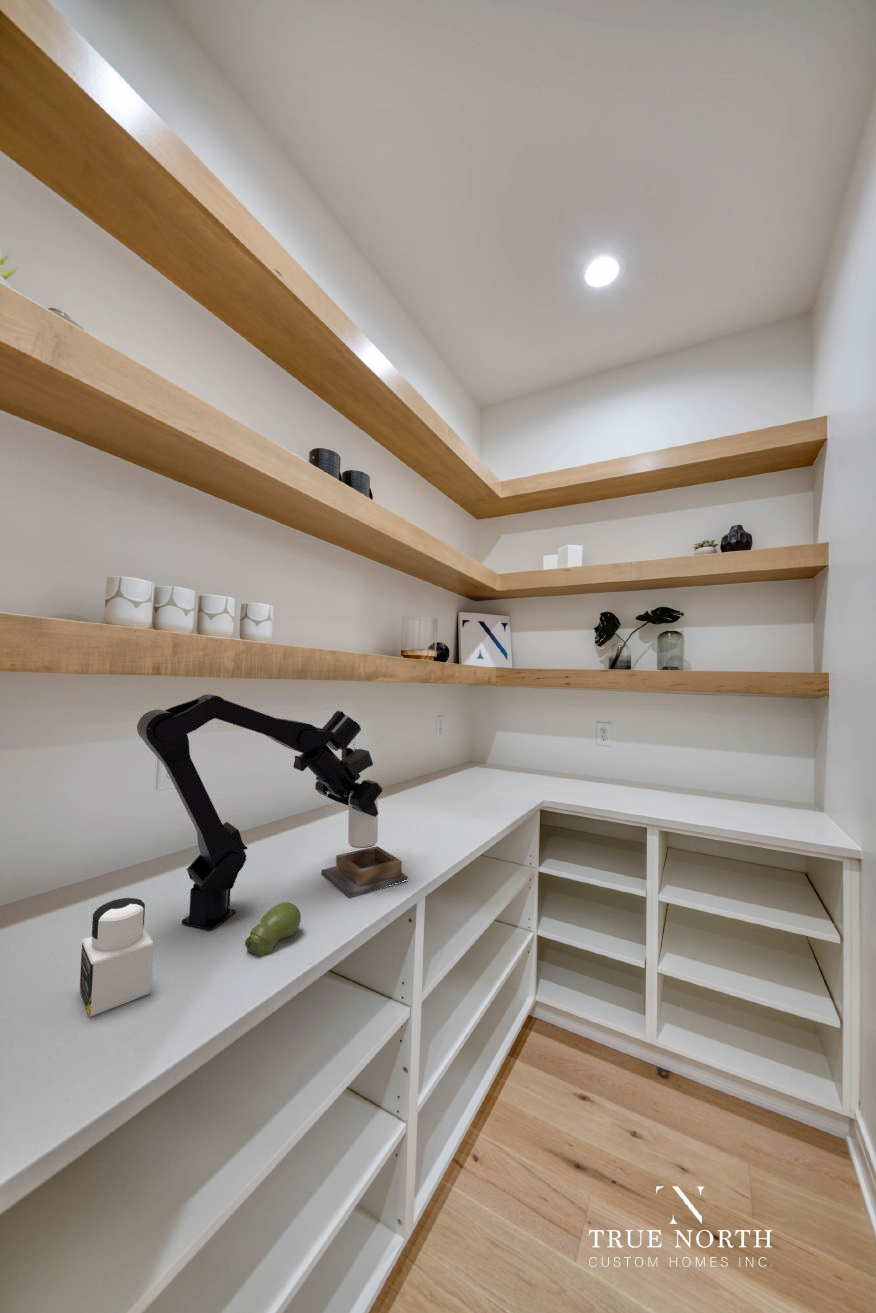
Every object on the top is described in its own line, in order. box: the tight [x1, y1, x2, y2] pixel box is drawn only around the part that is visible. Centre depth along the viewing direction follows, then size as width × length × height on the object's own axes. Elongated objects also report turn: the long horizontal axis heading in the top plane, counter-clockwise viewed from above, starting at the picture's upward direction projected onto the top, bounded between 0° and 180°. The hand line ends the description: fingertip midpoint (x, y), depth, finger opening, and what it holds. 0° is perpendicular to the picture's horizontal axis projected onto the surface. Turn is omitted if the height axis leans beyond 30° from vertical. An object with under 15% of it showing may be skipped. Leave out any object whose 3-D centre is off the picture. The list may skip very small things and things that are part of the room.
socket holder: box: [320, 845, 409, 899], centre depth 106 cm, size 14×13×4 cm
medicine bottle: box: [79, 897, 154, 1017], centre depth 67 cm, size 7×7×12 cm
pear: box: [244, 901, 302, 957], centre depth 81 cm, size 6×5×10 cm
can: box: [347, 793, 379, 849], centre depth 109 cm, size 6×6×12 cm
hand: (368, 811), depth 110 cm, fingers closed on can, 6 cm apart
